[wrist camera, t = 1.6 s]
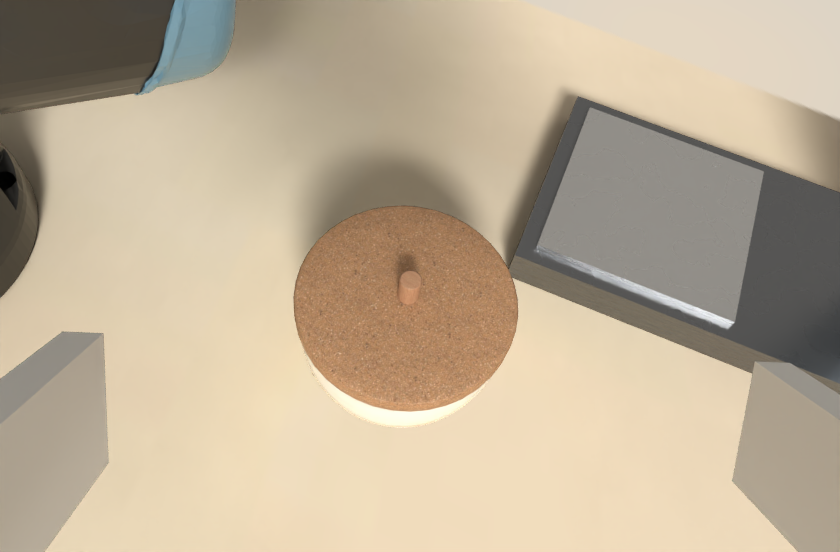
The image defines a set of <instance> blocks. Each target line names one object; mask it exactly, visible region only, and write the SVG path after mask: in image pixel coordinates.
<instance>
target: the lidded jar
mask: <svg viewBox="0 0 840 552" xmlns="http://www.w3.org/2000/svg"><path fill="white" fill-rule="evenodd" d="M294 316H295V322H296V326H297V331H298V335H299V338H300V340H301V343H302V348H303V352H304V355H305V357H306V360H307V362H308V364H309V367H310V369H311V371H312V373H313V375H314V376H315V378H316V380H317V381H318V383H319V384H320V386H321V387H322V388H323V389H324V390H325V392H326V393H327V394H328V395H329V396H330V397H331V398H332V399H333V400H334V401H335V402H336V403H337V404H338V405H340V406H341V407H342V408H343V409H344V410H346V411H348V412H349V413H351V414H353V415H354V416H356V417H358V418H360V419H363V420H365V421H368V422H370V423H373V424H378V425H382V426H387V427H400V428H405V427H417V426H422V425H426V424H430V423H433V422H436V421H438V420H440V419H443V418H445V417H447V416H449V415H451V414H453V413H454V412H456V411H457V410H459V409H461V408H462V407H464V406H465V405H466V404H467V403H468V402H469V401H470V400H472V399H473V398H474V397H475V396H476V395H477V394H478V393H479V392H480V391H481V390H482V388H483V387H484V386H485V385H486V383H487V382H488V381H489V379H490V378H491V376H492V375H493V374H494V372H495V371H496V370H497V369H498V367H499V366H500V365H501V363H502V361H503V360H504V358H505V356H506V354H507V352H508V350H509V348H510V346H511V344H512V341H513V338H514V335H515V332H516V326H517V319H518V299H517V295H516V290H515V285H514V282H513V279H512V277H511V274H510V272H509V269H508V268H507V266H506V264H505V263H504V261H503V259H502V257H501V256H500V255H499V253H498V252H497V251H496V250H495V248H494V247H493V246H492V245H491V243H489V242H488V241H487V240H486V239H485V238H484V237H483V236H482V235H481V234H480V233H479V232H477V231H476V230H474V229H473V228H471V227H470V226H469V225H467V224H466V223H464V222H462V221H460V220H458V219H456V218H454V217H452V216H449V215H447V214H444V213H441V212H439V211H436V210H431V209H426V208H421V207H413V206H388V207H382V208H376V209H371V210H368V211H365V212H362V213H359V214H356V215H354V216H352V217H350V218H347V219H345V220H343V221H341V222H340V223H339V224H337V225H336V226H334V227H333V228H331V229H330V230H328V231H327V232H326V233H325V234H324V235H323V236H322V237H321V238H320V239H319V240H318V241H317V242H316V243H315V245H314V246H313V247H312V249H311V250H310V251H309V252H308V254H307V256H306V258H305V260H304V261H303V263H302V265H301V267H300V270H299V273H298V277H297V280H296V284H295V291H294Z"/></svg>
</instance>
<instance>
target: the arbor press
mask: <svg viewBox="0 0 840 552" xmlns="http://www.w3.org/2000/svg"><path fill="white" fill-rule="evenodd" d="M509 272H510V274H511V277H512V278H515V279H517V280H520V281H522V282H525V283H527V284H530V285H532V286H535V287H537V288H540V289H542V290H545V291H547V292H550V293H552V294H555V295H557V296H560V297H562V298H565V299H567V300H570V301H572V302H575V303H577V304H580V305H582V306H585V307H587V308H590V309H592V310H595V311H597V312H600V313H602V314H605V315H607V316H610V317H612V318H615V319H617V320H620V321H622V322H625V323H627V324H630V325H633V326H635V327H638V328H640V329H643V330H645V331H648V332H650V333H653V334H655V335H658V336H660V337H663V338H665V339H668V340H670V341H673V342H675V343H678V344H680V345H683V346H685V347H688V348H690V349H693V350H695V351H698V352H700V353H703V354H705V355H708V356H710V357H713V358H715V359H718V360H720V361H723V362H725V363H728V364H730V365H733V366H735V367H738V368H740V369H743V370H745V371H748V372H750V373H753V369H754V363H755V361H757V362H780V363H791V364H793V365H794V366H796V367H797V368H799V369H800V370H802V371H804V372H805V373H807V374H808V375H810V376H811V377H813V378H814V379H816V380H818V381H819V382H821V383H822V384H824V385H825V386H827V387H829V388H830V389H832V390H833V391H835V392H836V393H838V394H840V193H839V192H836V191H834V190H831V189H828V188H826V187H823V186H820V185H817V184H815V183H812V182H809V181H807V180H804V179H801V178H798V177H796V176H793V175H790V174H788V173H785V172H782V171H779V170H777V169H774V168H771V167H769V166H766V165H763V164H760V163H758V162H755V161H752V160H750V159H747V158H744V157H741V156H739V155H736V154H733V153H731V152H728V151H725V150H722V149H720V148H717V147H714V146H712V145H709V144H706V143H703V142H701V141H698V140H695V139H693V138H690V137H687V136H684V135H682V134H679V133H676V132H674V131H671V130H668V129H665V128H663V127H660V126H657V125H655V124H652V123H649V122H646V121H644V120H641V119H638V118H636V117H633V116H630V115H627V114H625V113H622V112H619V111H617V110H614V109H611V108H608V107H606V106H603V105H600V104H598V103H595V102H592V101H589V100H587V99H584V98H581V97H579V96H578V98H577V100H576V102H575V105H574V107H573V110H572V112H571V114H570V117H569V119H568V122H567V124H566V127H565V129H564V132H563V134H562V137H561V139H560V142H559V144H558V147H557V149H556V152H555V154H554V157H553V159H552V162H551V164H550V167H549V169H548V172H547V174H546V177H545V179H544V182H543V184H542V187H541V189H540V192H539V194H538V197H537V199H536V202H535V204H534V207H533V209H532V212H531V214H530V217H529V219H528V222H527V225H526V227H525V230H524V232H523V235H522V237H521V240H520V242H519V245H518V247H517V250H516V252H515V255H514V257H513V260H512V262H511V265H510V267H509Z"/></svg>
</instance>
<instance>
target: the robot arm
mask: <svg viewBox="0 0 840 552" xmlns="http://www.w3.org/2000/svg"><path fill="white" fill-rule="evenodd" d="M235 8H236V0H0V114H5V113H12V112H18V111H24V110H31V109H37V108H44V107H50V106H57V105H63V104H70V103H76V102H82V101H89V100H95V99H102V98H108V97H115V96H121V95H127V94H135V95H143V94H144V93H149V92H151V91H153V90H154V89H155V88H156V87H160V86H164V85H169V84H173V83H177V82H182V81H186V80H190V79H195V78H199V77H203V76H205V75H207V74H209V73H210V72H212V71H214V69H216V68H217V67H218V66H219V65H220V64H221V63H222V62H223V61H224V59H225V57H226V55H227V53H228V51H229V48H230V46H231V42H232V38H233V32H234V23H235ZM37 226H38V209H37V203H36V198H35V195H34V192H33V190H32V187H31V185H30V183H29V181H28V180H27V178H26V176H25V175H24V173H23V171H22V170H21V168H20V167H19V165H18V163H17V162H16V160H15V159H14V157H13V156H12V154H11V153H10V152H9V151H8V150H7V149H6V147H5V146H4V145H3V144H2V143H1V142H0V297H1V296H2V295H3V294H4V293H5V292H6V291H7V290H8V288H9V287H10V286H11V285H12V284H13V282H14V281H15V280H16V278H17V277H18V275H19V274H20V272H21V271H22V269H23V267H24V266H25V264H26V262H27V260H28V258H29V256H30V253H31V251H32V248H33V245H34V242H35V238H36V233H37ZM107 464H108V437H107V412H106V386H105V360H104V334H103V333H83V332H61V333H60V334H59V335H57V336H56V337H55V338H53V339H52V340H51V341H49V342H48V343H47V344H46V345H44V346H43V347H42V348H40V349H39V350H38V351H36V352H35V353H34V354H32V355H31V356H30V357H28V358H27V359H26V360H24V361H23V362H22V363H21V364H19V365H18V366H17V367H15V368H14V369H13V370H11V371H10V372H9V373H7V374H6V375H5V376H3V377H2V378H1V379H0V552H45V550H46V549H47V548H48V546H49V545H50V543H51V542H52V541H53V539H54V538H55V536H56V535H57V534H58V532H59V531H60V530H61V528H62V527H63V525H64V524H65V523H66V521H67V520H68V518H69V517H70V516H71V514H72V513H73V511H74V510H75V509H76V507H77V506H78V504H79V503H80V502H81V500H82V499H83V498H84V496H85V495H86V493H87V492H88V491H89V489H90V488H91V486H92V485H93V484H94V482H95V481H96V479H97V478H98V477H99V475H100V474H101V473H102V471H103V470H104V468H105V467H106V466H107ZM732 481H733V483H734V484H735V485H736V486H737V487H738V488H739V489H740V490H741V491H742V492H743V493H744V494H745V495H746V496H747V498H748V499H749V500H750V501H751V502H752V503H753V504H754V505H755V506H756V507H757V508H758V509H759V510H760V511H761V513H762V514H763V515H764V516H765V517H766V518H767V519H768V520H769V521H770V522H771V523H772V524H773V525H774V526H775V528H776V529H777V530H778V531H779V532H780V533H781V534H782V535H783V536H784V537H785V538H786V539H787V540H788V541H789V542H790V544H791V545H792V546H793V547H794V548H795V549H796V550H797V551H798V552H840V394H838V393H836V392H835V391H833V390H832V389H830V388H829V387H827V386H825V385H824V384H822V383H821V382H819V381H818V380H816V379H814V378H813V377H811V376H810V375H808V374H807V373H805V372H804V371H802V370H800V369H799V368H797V367H796V366H794V365H793V364H791V363H780V362H757V361H755V363H754V369H753V374H752V379H751V384H750V390H749V395H748V400H747V405H746V411H745V416H744V421H743V426H742V432H741V437H740V442H739V447H738V453H737V458H736V463H735V468H734V474H733V479H732Z"/></svg>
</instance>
